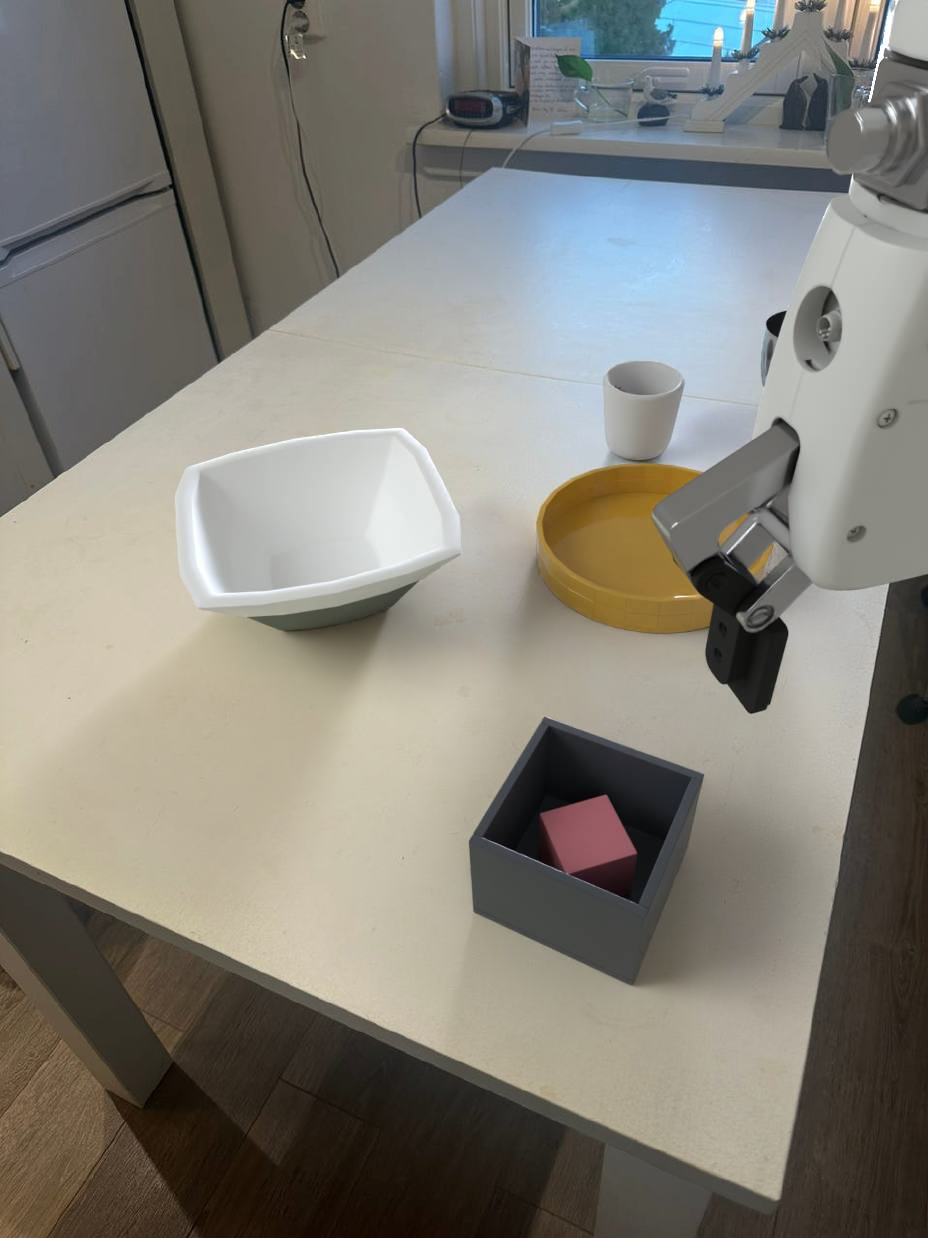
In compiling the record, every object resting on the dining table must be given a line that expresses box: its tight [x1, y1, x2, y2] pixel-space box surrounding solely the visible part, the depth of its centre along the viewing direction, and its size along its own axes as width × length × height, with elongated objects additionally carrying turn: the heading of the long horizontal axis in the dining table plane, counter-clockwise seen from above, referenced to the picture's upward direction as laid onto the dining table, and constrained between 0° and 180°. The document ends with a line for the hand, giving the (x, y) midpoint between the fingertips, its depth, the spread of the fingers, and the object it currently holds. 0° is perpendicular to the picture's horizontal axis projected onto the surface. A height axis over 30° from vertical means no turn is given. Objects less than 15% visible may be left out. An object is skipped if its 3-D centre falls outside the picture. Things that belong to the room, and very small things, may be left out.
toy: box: [539, 795, 637, 897], centre depth 53 cm, size 4×4×4 cm
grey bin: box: [468, 716, 705, 987], centre depth 52 cm, size 10×10×8 cm
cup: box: [602, 359, 686, 461], centre depth 90 cm, size 11×8×8 cm
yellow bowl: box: [535, 462, 774, 634], centre depth 77 cm, size 20×20×4 cm
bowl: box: [174, 427, 462, 631], centre depth 74 cm, size 22×23×8 cm
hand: (855, 652), depth 32 cm, fingers open, 9 cm apart
